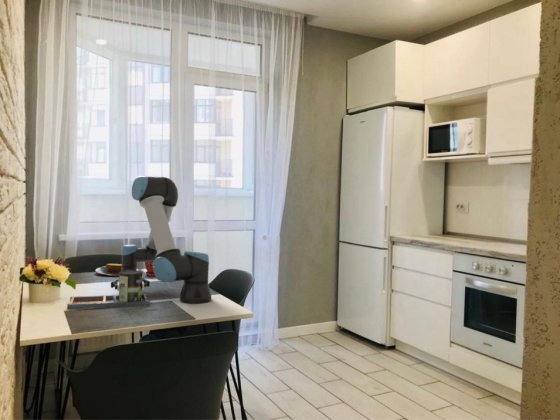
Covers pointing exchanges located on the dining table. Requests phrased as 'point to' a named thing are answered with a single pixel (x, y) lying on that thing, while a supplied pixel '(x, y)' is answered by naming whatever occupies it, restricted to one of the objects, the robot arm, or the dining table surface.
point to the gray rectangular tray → (102, 302)
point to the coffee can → (130, 286)
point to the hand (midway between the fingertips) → (130, 287)
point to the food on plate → (110, 269)
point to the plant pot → (149, 268)
